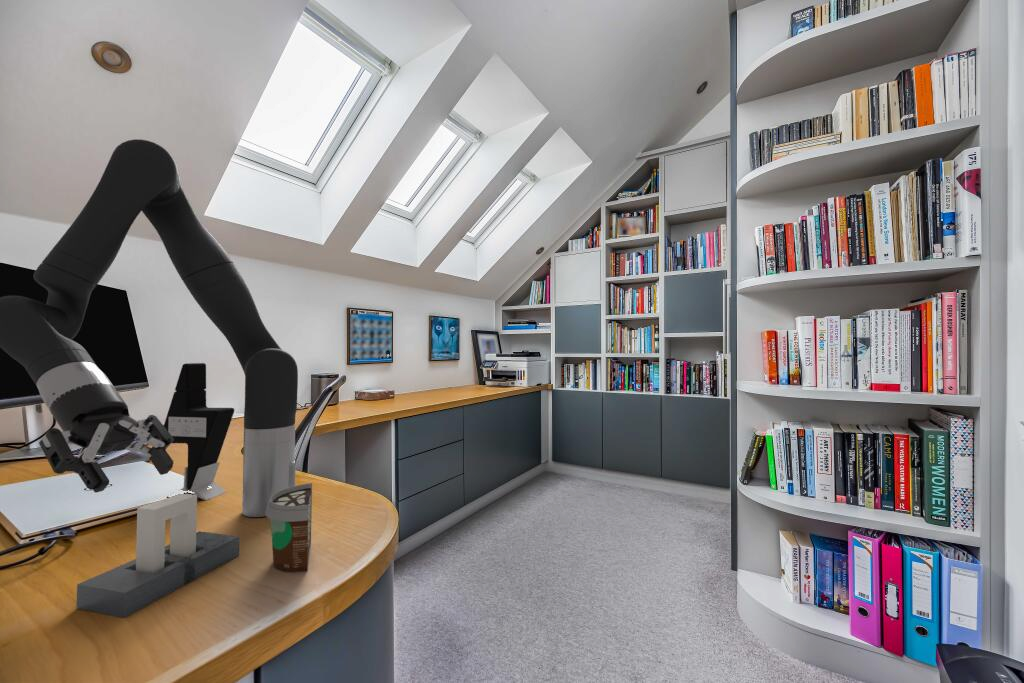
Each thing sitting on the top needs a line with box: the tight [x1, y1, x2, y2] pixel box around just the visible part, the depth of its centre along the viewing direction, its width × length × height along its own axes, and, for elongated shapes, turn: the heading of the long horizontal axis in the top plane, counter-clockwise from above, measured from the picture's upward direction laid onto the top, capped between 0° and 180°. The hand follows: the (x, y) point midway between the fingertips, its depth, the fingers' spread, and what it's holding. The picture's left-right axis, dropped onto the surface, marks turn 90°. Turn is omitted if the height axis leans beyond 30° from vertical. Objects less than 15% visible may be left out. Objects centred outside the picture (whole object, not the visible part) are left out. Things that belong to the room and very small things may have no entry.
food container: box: [265, 482, 313, 573], centre depth 64 cm, size 12×6×10 cm, turn 23°
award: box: [161, 362, 235, 501], centre depth 95 cm, size 15×5×30 cm, turn 81°
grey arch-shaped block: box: [135, 493, 198, 573], centre depth 59 cm, size 6×3×11 cm, turn 167°
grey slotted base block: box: [76, 531, 240, 618], centre depth 59 cm, size 16×8×3 cm, turn 167°
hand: (137, 478), depth 61 cm, fingers open, 8 cm apart
